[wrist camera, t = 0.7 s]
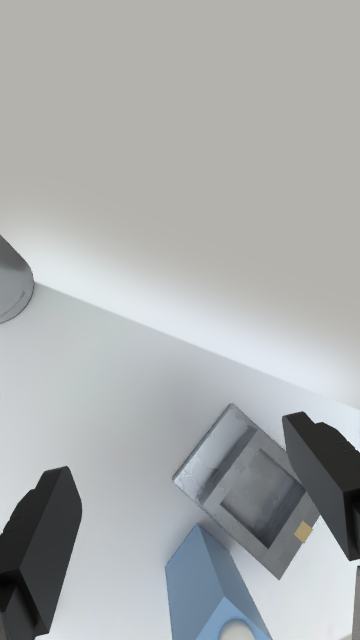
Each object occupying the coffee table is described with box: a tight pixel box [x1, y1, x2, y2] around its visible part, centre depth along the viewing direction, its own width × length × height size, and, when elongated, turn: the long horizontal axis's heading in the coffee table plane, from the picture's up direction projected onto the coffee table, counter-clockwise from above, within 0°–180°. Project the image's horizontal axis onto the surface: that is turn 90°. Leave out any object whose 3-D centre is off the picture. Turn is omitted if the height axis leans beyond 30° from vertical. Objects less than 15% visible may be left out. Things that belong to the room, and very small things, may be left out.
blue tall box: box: [165, 523, 273, 640], centre depth 24 cm, size 4×5×12 cm
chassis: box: [172, 404, 320, 580], centre depth 30 cm, size 14×10×4 cm
